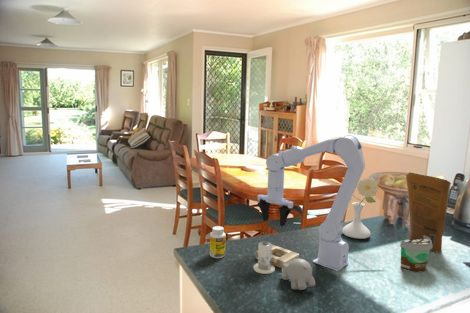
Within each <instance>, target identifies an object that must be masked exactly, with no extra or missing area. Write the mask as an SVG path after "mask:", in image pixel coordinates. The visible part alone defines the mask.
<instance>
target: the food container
mask: <svg viewBox="0 0 470 313" xmlns="http://www.w3.org/2000/svg"><path fill="white" fill-rule="evenodd" d="M399 247H400V269H402V270H405V271H407V272H413V273H422V272H425V271H426V269H427V266H428V260H429V255H430V250H431V249H432V248H433V246H432V242H431V239H430V238H428V237H427V236H424V235H423V238H421V239H412V240H408V241H405V240H401V241H400V243H399Z"/></svg>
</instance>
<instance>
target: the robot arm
mask: <svg viewBox="0 0 470 313" xmlns="http://www.w3.org/2000/svg"><path fill="white" fill-rule="evenodd" d="M324 152H328V153H329V154H336V155H337V156H338V157H339V158H340V159H341V160H343V162H344V164H345V165H346V168H347V169H346V172H345V175H344V177H343V179H342V181H341V184H340V186H339V189H338V191H337V194H336V196H335V197H334V198H335V199H334V200H333V203H332V206H331V208H330V211H329V212H328V214H327V216H326V217H325V220H324V221H323V222H322V223H321V224H320V225H319V226H318V229H317V231H318V235H319V237H318V239H319V240H318V256H317V258H315V259H313V260H312V262H313V263H314V264H317V265H320V266H322V267H325V268H328V269H330V270H331V269H332V270H334V271H336V272H339V271H340V270H341V269H343V268H345V267H346V266H347V265H348V264H349V261H348V260H349V248H350V247H349V243H348V242H346V241H344V240H343V239H342V236H341V233H340V232H342V229H343V227H344V222H343V221H344V218H345V214H346V212H347V210H348V207H349V204H350V203H351V201H352V198H353V197H354V193H355V190H356V189H357V186H358V184H359V182H360V180H361V177H362V174H363V173H364V170H365V169H366V163H365V157H364V152H363V145H362V144H361V141H359V138H357V137H356V136H354V135H352V134H348V135H345V136H343V137H342V136H340V137H339V136H338V137H334V138H333V137H332V138H329V139H325V140H324V141H320V142H318V143H315V144H313V145H310V146H307V147H301V146H299V145H298V146H296V145H293V146H290V148H289V149H286V150H279V151H278V153H273V154H270V155H269V156H268V157H267V158H266V161H265V165H266V167H267V170H268V172H267V192H266V194H258V195H257V201H258V202H257V206H258V207H259V209H260V210H259V211H260V212H261V215H262V221H263V222H266V221H268V220H269V215H270V214H269V212H270V207H271V204H273V205H274V204H275V205H277V206H281V207H278V211H279V225H280V227H285V226H286V223H287V219H288V217H289V215H290V213H291V211H292V210H293V208H294V202H293V201H291V200H288V199H285V198H284V188H285V187H284V185H285V184H284V183H285V168H288V167H292V166H295V165H298V164H301V163H303V162H304V161H305V159H306V158H307V157H311V156H314V155H318V154H321V153H324Z"/></svg>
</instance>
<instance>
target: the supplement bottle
mask: <svg viewBox="0 0 470 313" xmlns="http://www.w3.org/2000/svg"><path fill="white" fill-rule="evenodd" d="M211 231H212V232H210V233H209V256H210V257H211V258H213V259H222V258H224V257H225V256H226V243H227V242H226V241H227V239H226V237H227V236H226V233H225V232H224V231H225V230H224V227H223V226H219V225H216V226H213V227H212V230H211Z"/></svg>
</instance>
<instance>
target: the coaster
mask: <svg viewBox="0 0 470 313" xmlns="http://www.w3.org/2000/svg"><path fill="white" fill-rule="evenodd" d="M275 267H276V266H275V265H272V264H271V269H270V270H260V269H259V268H258V262H257V263H255V264H253V271H254V272H256V273H258V274H263V275H269V274H273V273H274V272H275V270H276V269H275Z"/></svg>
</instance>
